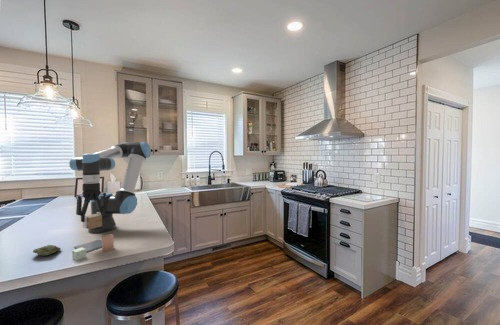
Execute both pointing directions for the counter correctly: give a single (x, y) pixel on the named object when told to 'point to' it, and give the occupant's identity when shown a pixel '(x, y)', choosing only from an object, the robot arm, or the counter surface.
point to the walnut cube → (94, 221)
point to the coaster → (91, 245)
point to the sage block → (79, 253)
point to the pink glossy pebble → (107, 242)
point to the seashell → (46, 250)
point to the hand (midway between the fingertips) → (92, 225)
